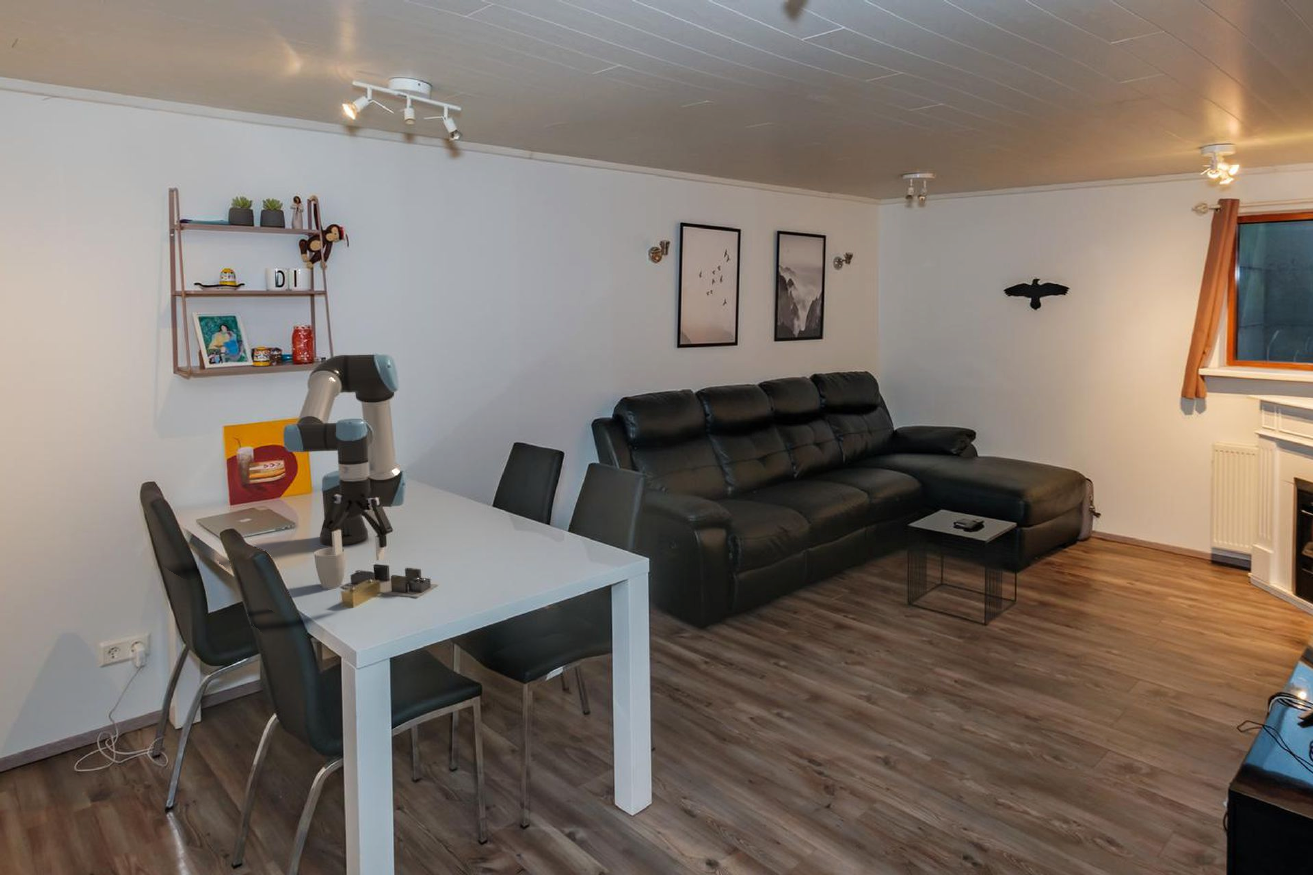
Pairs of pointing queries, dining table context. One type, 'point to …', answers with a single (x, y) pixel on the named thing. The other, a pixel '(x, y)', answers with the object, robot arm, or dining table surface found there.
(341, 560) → the cup
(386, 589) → the mat
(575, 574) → the dining table surface
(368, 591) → the gold rectangular block
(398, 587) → the grey assembly fixture
